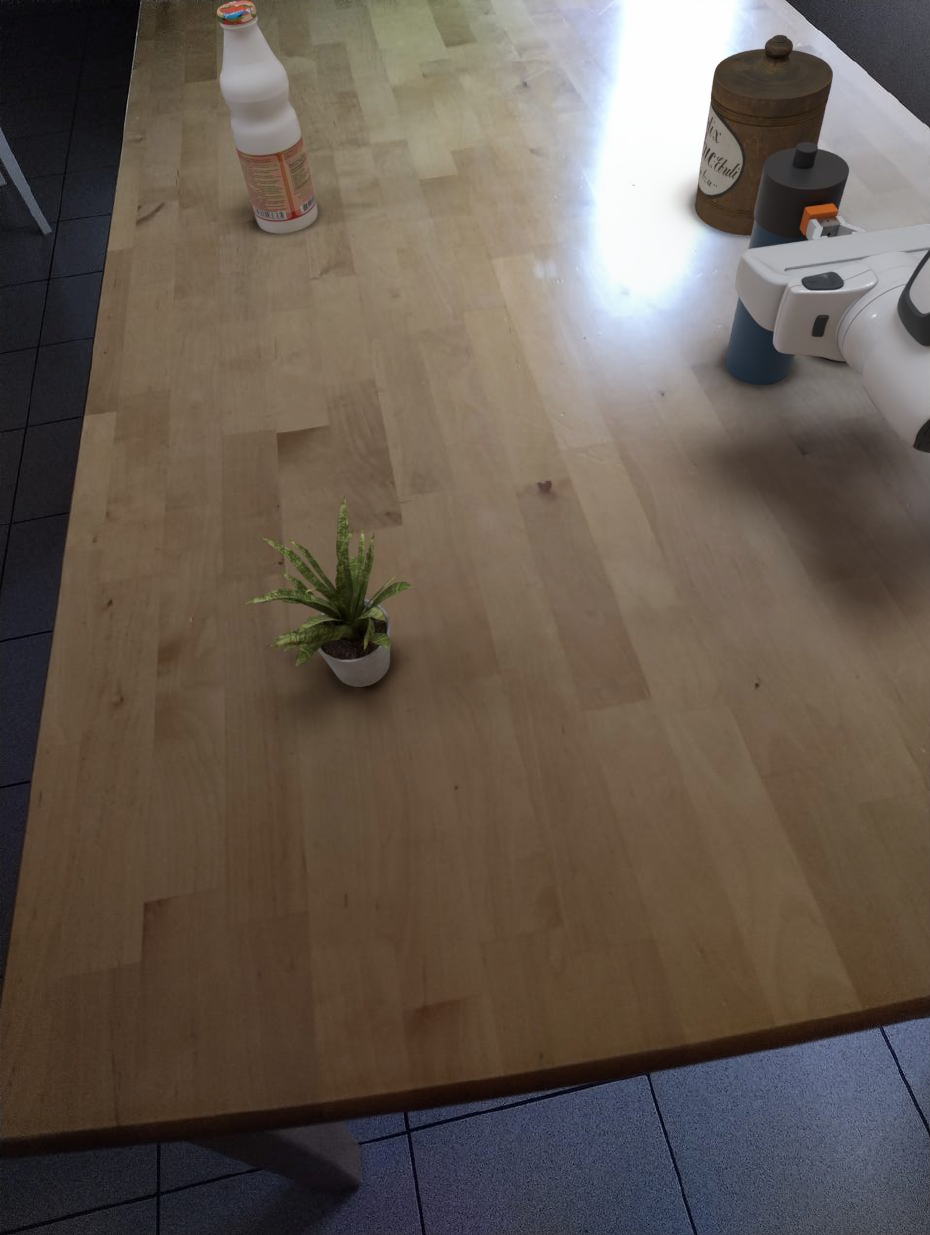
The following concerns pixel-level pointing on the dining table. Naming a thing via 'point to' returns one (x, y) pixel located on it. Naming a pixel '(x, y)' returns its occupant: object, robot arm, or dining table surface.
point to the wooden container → (756, 126)
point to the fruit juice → (264, 124)
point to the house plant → (340, 611)
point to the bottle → (778, 217)
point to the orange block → (817, 214)
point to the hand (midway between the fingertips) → (821, 224)
